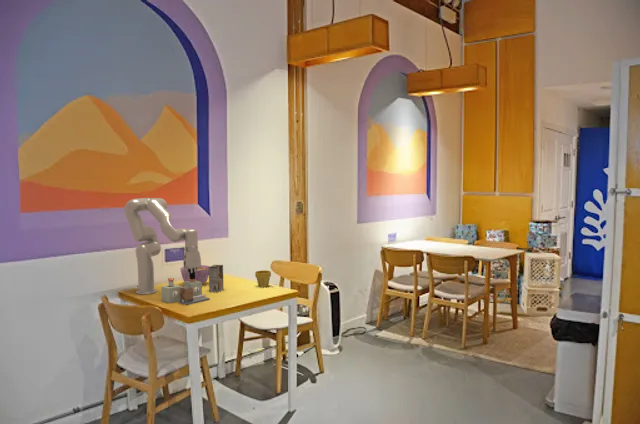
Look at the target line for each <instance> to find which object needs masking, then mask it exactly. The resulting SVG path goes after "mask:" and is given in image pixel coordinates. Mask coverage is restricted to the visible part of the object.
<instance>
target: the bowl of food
mask: <svg viewBox="0 0 640 424" xmlns="http://www.w3.org/2000/svg"><path fill="white" fill-rule="evenodd" d="M209 267H210V266H209V265H204V264H203V265H202V264H201V266H200V268H199V269H197V270H196V272H195V281H200V282H202V285H203V284H204V283H206V282H207V281H208V280H209ZM187 269H188V268H187ZM179 270H180V275H181V277H182V281H183V282H187V281H190V280H189V279H190V275H189V272H188V271H185V270H184V266H182V267H180V269H179Z"/></svg>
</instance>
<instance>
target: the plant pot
mask: <svg viewBox="0 0 640 424" xmlns="http://www.w3.org/2000/svg"><path fill="white" fill-rule="evenodd" d="M254 273H255V275H254V276H255V278H256V281H257V286H258V287H259V288H266V287H267V288H268V287H269V284H270V278H271V276H272V271H271V270H267V269H266V270H263V269H262V270H258V271H255V272H254Z"/></svg>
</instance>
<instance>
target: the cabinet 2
mask: <svg viewBox="0 0 640 424" xmlns="http://www.w3.org/2000/svg"><path fill="white" fill-rule="evenodd" d="M182 287H191V288H193V297H194V296H199V295H203V288H202V287H203V284H202V282H200V281H195V282H194V283H190V281H187V282H184V281H183V282H182Z"/></svg>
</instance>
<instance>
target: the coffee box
mask: <svg viewBox="0 0 640 424" xmlns="http://www.w3.org/2000/svg"><path fill="white" fill-rule="evenodd" d="M222 290H224V265H223V264H213V265H211V266H210V267H209V276H208V291H209V293H219V292H220V291H222Z"/></svg>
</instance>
